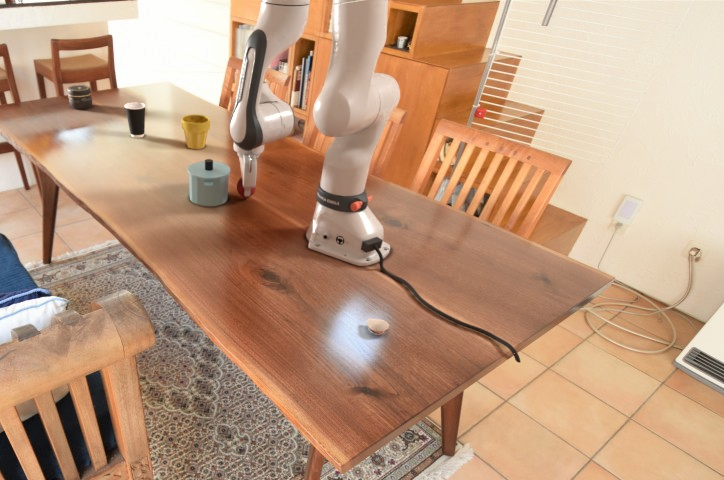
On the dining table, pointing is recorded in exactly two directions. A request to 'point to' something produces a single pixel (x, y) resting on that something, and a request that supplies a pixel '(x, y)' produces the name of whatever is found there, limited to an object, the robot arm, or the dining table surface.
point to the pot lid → (208, 169)
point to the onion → (241, 189)
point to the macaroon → (377, 326)
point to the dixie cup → (136, 118)
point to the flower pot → (195, 130)
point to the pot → (208, 191)
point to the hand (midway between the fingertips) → (246, 190)
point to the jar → (80, 97)
